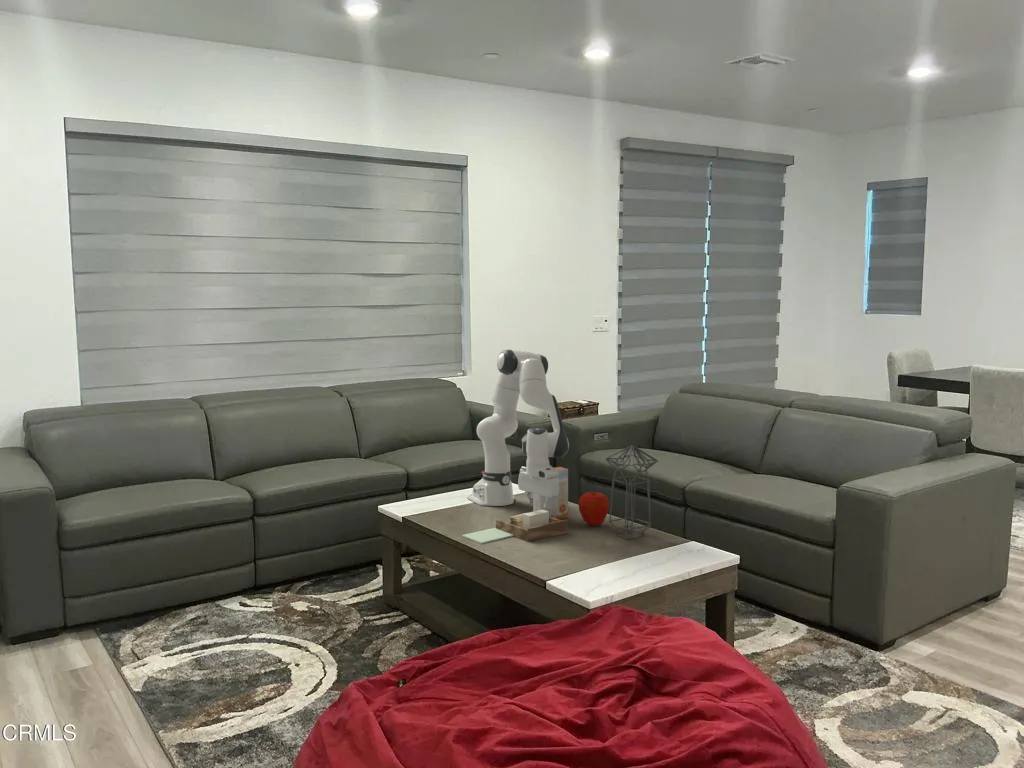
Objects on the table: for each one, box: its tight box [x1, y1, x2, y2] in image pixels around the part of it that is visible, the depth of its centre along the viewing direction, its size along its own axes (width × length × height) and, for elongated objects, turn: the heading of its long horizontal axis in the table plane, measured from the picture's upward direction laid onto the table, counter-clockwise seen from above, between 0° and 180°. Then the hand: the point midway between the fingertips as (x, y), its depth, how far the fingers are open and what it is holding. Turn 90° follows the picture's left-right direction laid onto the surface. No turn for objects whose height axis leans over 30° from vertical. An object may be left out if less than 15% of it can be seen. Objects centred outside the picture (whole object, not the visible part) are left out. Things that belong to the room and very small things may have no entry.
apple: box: [577, 491, 611, 527], centre depth 344 cm, size 12×12×14 cm
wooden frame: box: [495, 517, 569, 543], centre depth 336 cm, size 20×20×5 cm
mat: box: [461, 527, 514, 545], centre depth 329 cm, size 12×16×1 cm
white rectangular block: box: [522, 510, 549, 529], centre depth 334 cm, size 4×10×8 cm, turn 129°
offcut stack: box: [509, 512, 525, 528], centre depth 341 cm, size 4×10×5 cm, turn 137°
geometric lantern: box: [605, 445, 659, 540], centre depth 329 cm, size 16×16×35 cm
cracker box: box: [532, 466, 569, 520], centre depth 352 cm, size 14×6×21 cm, turn 122°
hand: (538, 504), depth 333 cm, fingers open, 8 cm apart
